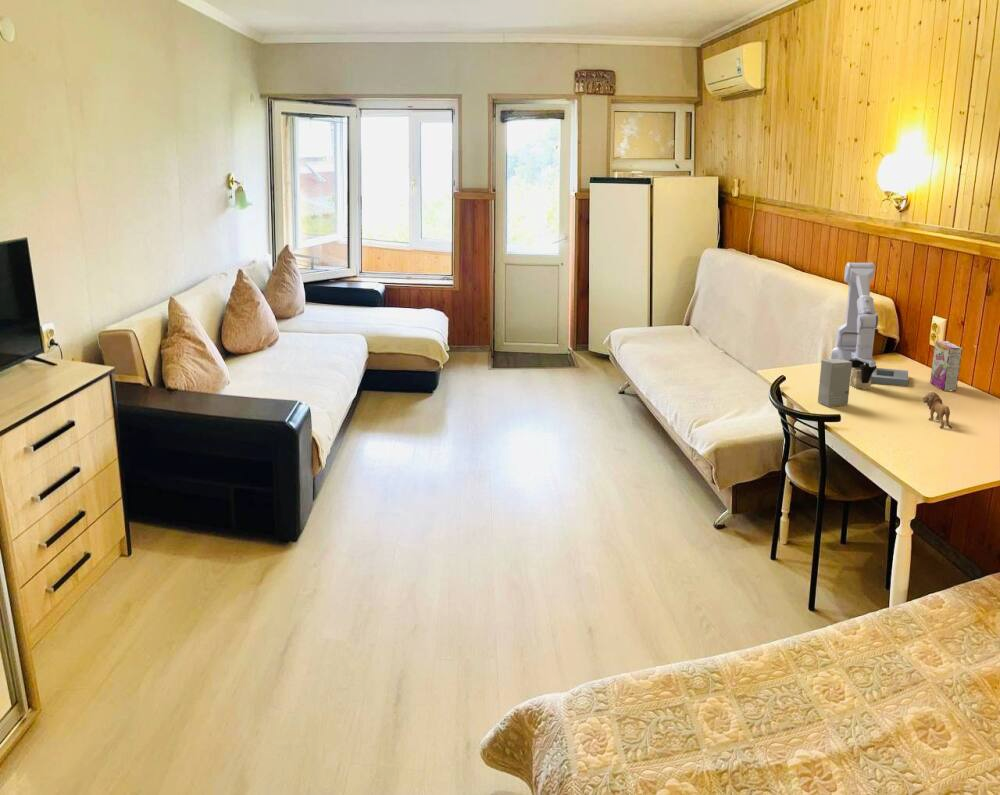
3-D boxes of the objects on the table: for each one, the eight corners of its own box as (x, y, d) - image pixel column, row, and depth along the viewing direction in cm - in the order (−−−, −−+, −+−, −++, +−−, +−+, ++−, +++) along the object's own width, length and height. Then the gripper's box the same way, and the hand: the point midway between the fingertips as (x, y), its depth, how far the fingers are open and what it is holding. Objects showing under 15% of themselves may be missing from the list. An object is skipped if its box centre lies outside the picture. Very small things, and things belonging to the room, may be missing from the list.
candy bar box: (928, 383, 316) (934, 340, 311) (942, 382, 315) (948, 340, 311) (943, 391, 305) (949, 348, 300) (957, 391, 305) (963, 347, 300)
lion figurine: (917, 416, 279) (921, 390, 277) (932, 415, 280) (936, 389, 277) (944, 430, 265) (948, 403, 263) (960, 429, 266) (964, 402, 263)
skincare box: (828, 407, 290) (832, 363, 285) (815, 402, 296) (819, 358, 291) (849, 405, 292) (854, 361, 287) (836, 399, 298) (840, 356, 294)
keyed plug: (849, 385, 314) (851, 366, 312) (865, 385, 315) (867, 366, 313) (855, 388, 311) (857, 369, 308) (870, 388, 311) (872, 369, 309)
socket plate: (861, 382, 319) (861, 375, 318) (862, 372, 331) (863, 366, 330) (907, 386, 312) (908, 379, 311) (907, 376, 324) (908, 370, 323)
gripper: (844, 341, 315) (841, 375, 319) (864, 350, 301) (860, 386, 305) (862, 340, 315) (859, 375, 319) (882, 349, 301) (878, 385, 305)
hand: (860, 380), depth 312 cm, fingers open, 6 cm apart
